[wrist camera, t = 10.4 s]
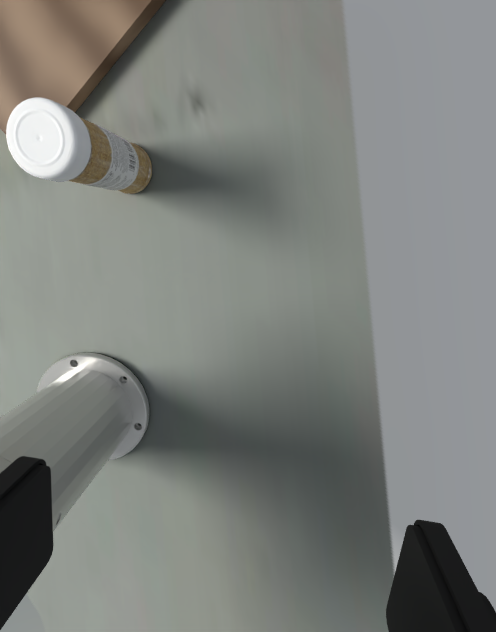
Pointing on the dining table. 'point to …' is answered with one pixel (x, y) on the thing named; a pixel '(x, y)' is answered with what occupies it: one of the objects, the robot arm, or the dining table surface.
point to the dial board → (63, 47)
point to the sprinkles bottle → (74, 148)
